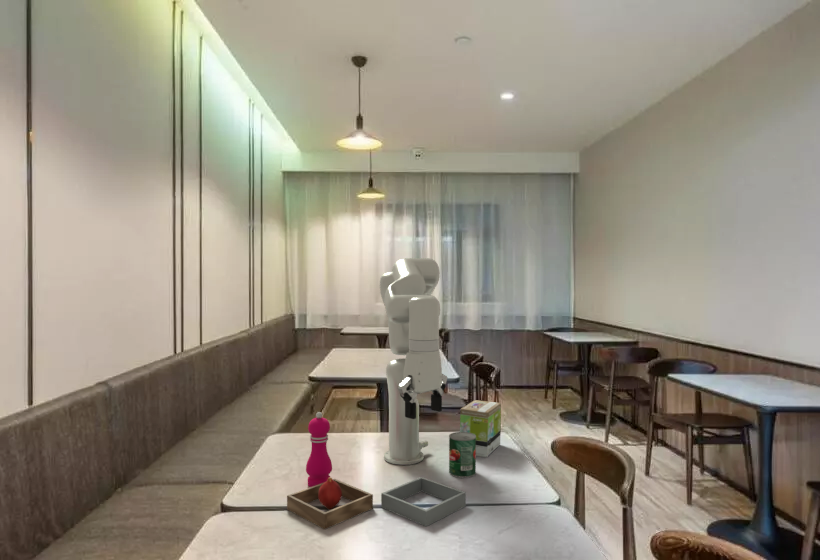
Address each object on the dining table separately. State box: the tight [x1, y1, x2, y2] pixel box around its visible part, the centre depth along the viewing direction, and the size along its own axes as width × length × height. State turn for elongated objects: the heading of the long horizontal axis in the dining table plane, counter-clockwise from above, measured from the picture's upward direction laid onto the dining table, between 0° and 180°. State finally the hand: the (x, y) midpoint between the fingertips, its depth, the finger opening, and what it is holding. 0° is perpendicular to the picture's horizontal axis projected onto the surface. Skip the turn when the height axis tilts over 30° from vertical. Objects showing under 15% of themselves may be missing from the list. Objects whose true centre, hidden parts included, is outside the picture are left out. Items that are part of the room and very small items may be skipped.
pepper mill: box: [305, 411, 333, 488], centre depth 149 cm, size 7×7×20 cm
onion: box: [318, 477, 342, 511], centre depth 133 cm, size 6×6×8 cm
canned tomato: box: [448, 431, 477, 479], centre depth 158 cm, size 8×8×11 cm
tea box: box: [459, 399, 502, 458], centre depth 179 cm, size 15×10×15 cm, turn 155°
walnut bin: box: [286, 478, 374, 530], centre depth 133 cm, size 15×15×4 cm
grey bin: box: [380, 476, 467, 527], centre depth 135 cm, size 15×15×4 cm
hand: (423, 414), depth 134 cm, fingers open, 9 cm apart
